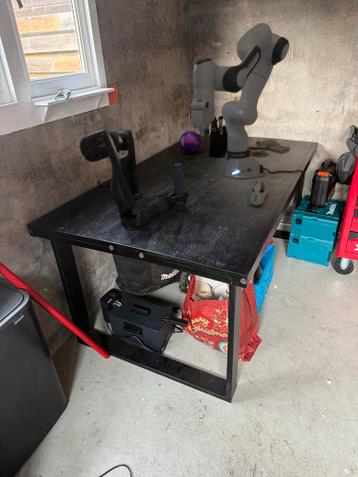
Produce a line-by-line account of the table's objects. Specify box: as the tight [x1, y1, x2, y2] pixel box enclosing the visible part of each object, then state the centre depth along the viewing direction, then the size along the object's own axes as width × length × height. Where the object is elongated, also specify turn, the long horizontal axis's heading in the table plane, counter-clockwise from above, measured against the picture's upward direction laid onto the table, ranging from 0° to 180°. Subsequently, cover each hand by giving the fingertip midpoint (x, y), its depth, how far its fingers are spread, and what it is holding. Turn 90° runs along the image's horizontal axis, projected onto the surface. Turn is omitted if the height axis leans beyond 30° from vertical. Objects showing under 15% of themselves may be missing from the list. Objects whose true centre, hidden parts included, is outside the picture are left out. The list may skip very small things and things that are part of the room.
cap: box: [204, 128, 211, 136], centre depth 147 cm, size 4×4×2 cm
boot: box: [209, 115, 219, 139], centre depth 247 cm, size 9×24×20 cm, turn 168°
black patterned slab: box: [208, 115, 228, 158], centre depth 222 cm, size 21×9×25 cm, turn 148°
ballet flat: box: [249, 179, 269, 207], centre depth 158 cm, size 8×24×8 cm, turn 163°
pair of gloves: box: [247, 138, 291, 157], centre depth 228 cm, size 30×26×5 cm
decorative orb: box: [178, 130, 202, 154], centre depth 230 cm, size 15×15×15 cm
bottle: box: [173, 162, 186, 212], centre depth 148 cm, size 4×4×21 cm
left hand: (182, 193), depth 152 cm, fingers closed on bottle, 4 cm apart
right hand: (204, 134), depth 148 cm, fingers closed on cap, 4 cm apart
